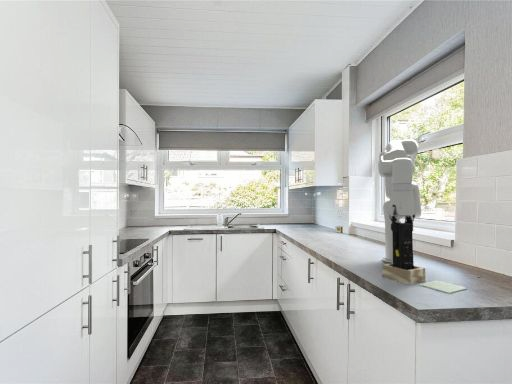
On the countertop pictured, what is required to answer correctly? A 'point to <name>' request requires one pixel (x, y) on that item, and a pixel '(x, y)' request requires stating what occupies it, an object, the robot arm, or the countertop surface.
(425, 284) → the rubber mat
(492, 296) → the countertop surface
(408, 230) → the portable radio
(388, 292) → the countertop surface
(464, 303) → the countertop surface
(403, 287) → the countertop surface
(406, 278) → the wooden pocket
